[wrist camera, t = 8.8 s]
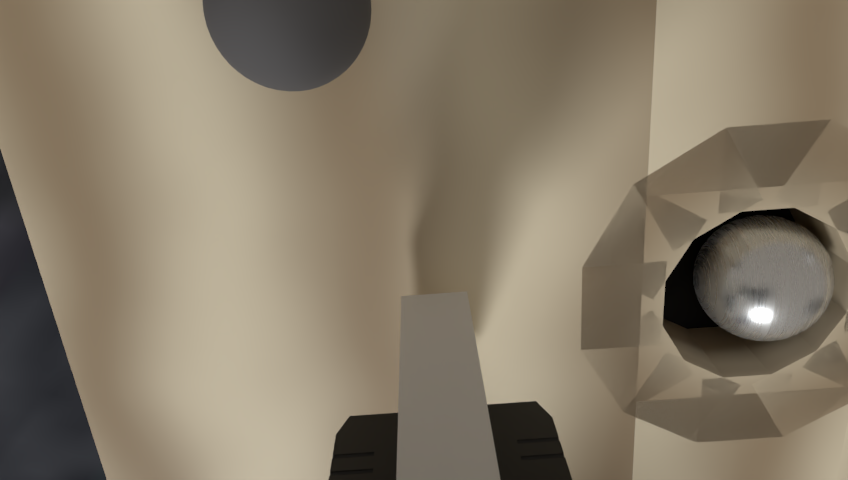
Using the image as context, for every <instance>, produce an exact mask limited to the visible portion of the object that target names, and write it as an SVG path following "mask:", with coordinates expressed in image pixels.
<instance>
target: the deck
mask: <svg viewBox="0 0 848 480" xmlns="http://www.w3.org/2000/svg"><path fill="white" fill-rule="evenodd" d="M0 149H1V152H2V155H3V158H4V161H5V164H6V167H7V171H8V174H9V177H10V180H11V183H12V186H13V189H14V192H15V195H16V199H17V202H18V205H19V208H20V211H21V214H22V217H23V220H24V223H25V227H26V230H27V233H28V236H29V239H30V242H31V245H32V248H33V251H34V255H35V258H36V261H37V264H38V267H39V270H40V273H41V276H42V279H43V282H44V286H45V289H46V292H47V295H48V298H49V301H50V304H51V307H52V310H53V314H54V317H55V320H56V323H57V326H58V329H59V332H60V335H61V338H62V342H63V345H64V348H65V351H66V354H67V357H68V360H69V363H70V366H71V370H72V373H73V376H74V379H75V382H76V385H77V388H78V391H79V394H80V398H81V401H82V404H83V407H84V410H85V413H86V416H87V419H88V422H89V426H90V429H91V432H92V435H93V438H94V441H95V444H96V447H97V450H98V453H99V457H100V460H101V463H102V466H103V469H104V472H105V475H106V478H107V480H329V476H330V468H331V462H332V459H333V450H334V443H335V437H336V434H337V432H338V431H339V430H340V428H341V427H342V426H343V424H344V423H345V422H346V420H347V419H348V418H349V416H357V415H371V414H385V413H398V399H399V363H400V328H401V296H409V295H423V294H437V293H451V292H465V291H467V294H468V299H469V305H470V311H471V316H472V322H473V328H474V333H475V339H476V344H477V350H478V356H479V361H480V367H481V373H482V378H483V384H484V389H485V395H486V401H487V404H501V403H515V402H530V401H536V402H537V403H538V404H539V405H540V406H541V407H542V408H543V409H544V410H546V411H547V412H548V413H549V414H550V415H551V416H552V418H553V421H554V424H555V427H556V430H557V433H558V436H559V441H560V443H561V446H562V449H563V452H564V457H565V458H566V462H567V465H568V468H569V471H570V474H571V477H572V480H848V0H371V23H370V28H369V33H368V36H367V39H366V42H365V44H364V46H363V48H362V50H361V52H360V54H359V55H358V57H357V58H356V60H355V61H354V63H353V64H352V65H351V66H350V67H349V68H348V69H347V70H346V71H345V72H344V73H342V74H341V75H340V76H339V77H337V78H336V79H334V80H332V81H331V82H329V83H327V84H325V85H323V86H320V87H318V88H314V89H311V90H305V91H281V90H275V89H271V88H267V87H264V86H262V85H259V84H257V83H255V82H253V81H251V80H249V79H247V78H246V77H244V76H243V75H242V74H240V73H239V72H238V71H236V70H235V69H234V68H233V67H232V66H231V65H230V64H229V63H228V62H227V61H226V60H225V58H224V57H223V56H222V55H221V53H220V52H219V50H218V49H217V47H216V46H215V44H214V42H213V40H212V38H211V36H210V33H209V31H208V28H207V25H206V21H205V17H204V11H203V0H0ZM784 208H789V210H790V212H791V214H792V216H793V218H794V220H795V222H796V223H798V224H800V225H801V226H803V227H805V228H806V229H808V230H809V231H810V232H811V233H813V234H814V235H815V236H816V237H817V238H818V239H819V240H820V242H821V243H822V244H823V245H824V247H825V249H826V250H827V252H828V254H829V256H830V258H831V261H832V264H833V269H834V278H835V283H834V291H833V295H832V298H831V301H830V303H829V305H828V307H827V309H826V310H825V312H824V314H823V315H822V316H821V317H820V318H819V319H818V320H817V322H815V323H814V324H813V325H812V326H811V327H809V328H808V329H806V330H805V331H803V332H801V333H799V334H797V335H795V336H792V337H790V338H786V339H782V340H776V341H756V340H749V339H745V338H741V337H739V336H736V335H734V334H732V333H730V332H728V331H726V330H724V329H723V328H721V327H720V326H718V327H704V328H690V329H686V328H684V327H682V326H680V325H677V324H675V323H673V322H671V321H668V320H666V319H664V318H663V311H664V296H665V281H666V280H667V278H668V277H669V275H670V274H671V273H672V271H673V270H674V268H675V267H676V265H677V264H678V262H679V261H680V259H681V258H682V256H683V255H684V253H685V252H686V250H687V249H688V247H689V246H690V244H691V243H692V241H693V240H694V239H695V238H697V237H699V236H701V235H702V234H704V233H706V232H707V231H709V230H711V229H713V228H714V227H716V226H718V225H719V224H721V223H723V222H725V221H726V220H728V219H730V218H732V217H733V216H735V215H737V214H738V213H740V212H744V211H757V210H770V209H784Z"/></svg>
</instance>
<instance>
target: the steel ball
mask: <svg viewBox="0 0 848 480" xmlns="http://www.w3.org/2000/svg"><path fill="white" fill-rule="evenodd" d="M693 283H694V289H695V293H696V296H697V299H698V301H699V303H700V305H701V307H702V308H703V310H704V311H705V312H706V314H707V315H708V316H709V317H710V318H711V319H712V320H713V321H714V322H715V323H716V324H717V325H719V326H720V327H721V328H723V329H724V330H726V331H728V332H730V333H732V334H734V335H736V336H739V337H741V338H745V339H749V340H756V341H776V340H782V339H786V338H790V337H792V336H795V335H797V334H799V333H801V332H803V331H805V330H806V329H808V328H809V327H811V326H812V325H813V324H814V323H815V322H817V320H818V319H819V318H820V317H821V316H822V315H823V314H824V312H825V310H826V309H827V307H828V305H829V303H830V301H831V298H832V295H833V291H834V283H835V278H834V269H833V264H832V261H831V258H830V256H829V254H828V252H827V250H826V249H825V247H824V245H823V244H822V243H821V242H820V240H819V239H818V238H817V237H816V236H815V235H814V234H813V233H811V232H810V231H809V230H808V229H806V228H805V227H803V226H801V225H800V224H798V223H796V222H794V221H791V220H789V219H786V218H782V217H778V216H771V215H753V216H746V217H743V218H739V219H736V220H733V221H731V222H729V223H727V224H725V225H723V226H722V227H720V228H719V229H717V230H716V231H715V232H713V234H712V235H711V236H710V237H709V238H708V239H707V240H706V241H705V243H704V244H703V245H702V247H701V249H700V251H699V253H698V255H697V257H696V261H695V264H694V271H693Z"/></svg>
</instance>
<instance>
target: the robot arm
mask: <svg viewBox="0 0 848 480" xmlns="http://www.w3.org/2000/svg"><path fill="white" fill-rule="evenodd" d="M329 480H572V477H571V474H570V471H569V468H568V465H567V462H566V458H565V457H564V452H563V449H562V446H561V443H560V441H559V436H558V433H557V430H556V427H555V424H554V421H553V418H552V416H551V415H550V414H549V413H548V412H547V411H546V410H544V409H543V408H542V407H541V406H540V405H539V404H538V403H537V402H536V401H530V402H515V403H501V404H487V401H486V395H485V389H484V384H483V378H482V373H481V367H480V361H479V356H478V350H477V344H476V339H475V333H474V328H473V322H472V316H471V311H470V305H469V299H468V294H467V291H465V292H451V293H437V294H423V295H409V296H401V328H400V363H399V399H398V413H385V414H371V415H357V416H349V418H348V419H347V420H346V422H345V423H344V424H343V426H342V427H341V428H340V430H339V431H338V432H337V434H336V437H335V443H334V450H333V459H332V462H331V468H330V476H329Z"/></svg>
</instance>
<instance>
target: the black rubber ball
mask: <svg viewBox="0 0 848 480" xmlns="http://www.w3.org/2000/svg"><path fill="white" fill-rule="evenodd" d="M203 11H204V17H205V21H206V25H207V28H208V31H209V33H210V36H211V38H212V40H213V42H214V44H215V46H216V47H217V49H218V50H219V52H220V53H221V55H222V56H223V57H224V58H225V60H226V61H227V62H228V63H229V64H230V65H231V66H232V67H233V68H234V69H235V70H236V71H238V72H239V73H240V74H242V75H243V76H244V77H246V78H247V79H249V80H251V81H253V82H255V83H257V84H259V85H262V86H264V87H267V88H271V89H275V90H281V91H305V90H311V89H314V88H318V87H320V86H323V85H325V84H327V83H329V82H331V81H332V80H334V79H336V78H337V77H339V76H340V75H341V74H342V73H344V72H345V71H346V70H347V69H348V68H349V67H350V66H351V65H352V64H353V63H354V61H355V60H356V58H357V57H358V55H359V54H360V52H361V50H362V48H363V46H364V44H365V42H366V39H367V36H368V33H369V28H370V23H371V0H203Z"/></svg>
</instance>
